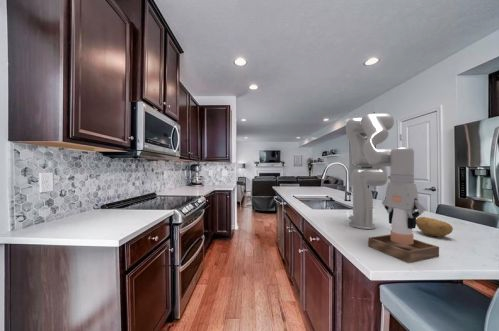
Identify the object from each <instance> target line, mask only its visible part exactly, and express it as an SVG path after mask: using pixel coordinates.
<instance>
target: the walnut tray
mask: <svg viewBox="0 0 499 331" xmlns="http://www.w3.org/2000/svg"><path fill="white" fill-rule="evenodd" d="M367 239H368V240H367V244H368V245H367V246H368V247H369V248H372V249H374V250H376V251H378V252H382V253H384V254H385V255H389V256H391V257H393V258H396V259H398V260H401V261H403V262H406V263H408V264H410V263H415V262H420V261H424V260H428V259H433V258H437V257H440V246H438V245H434V244H431V243H428V242H425V241H421V240H418V239H415V238H413V244H411V245H406V244H399V243H396V242H393V241H391V233H390V234H384V235H383V234H382V235H377V236H372V237H368V238H367Z"/></svg>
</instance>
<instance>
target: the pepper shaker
mask: <svg viewBox="0 0 499 331" xmlns="http://www.w3.org/2000/svg"><path fill="white" fill-rule="evenodd" d="M391 199H392V201H393V202H398V203H400V202H402V198H400V196H396V195H394V196H393V197H392V198H391ZM408 218H410V217H409V215H408V212H407V211H406V210H400V209H398V208H393V217H392V224H391V229H390V234H391V241H393V242H396V243H399V244H406V245H411V244H413V239H414V236H415V235H414V233H413V229H409V228H408Z"/></svg>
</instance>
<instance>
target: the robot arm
mask: <svg viewBox="0 0 499 331" xmlns="http://www.w3.org/2000/svg"><path fill="white" fill-rule="evenodd" d="M394 124H395V118H394V117H393V115H392V114H390V113H386V112H384V113H381V112H379V113H377V112H376V113H374V112H373V113H366V114H365V115H363V116H362V117H361V116H360V117H359V116H358V117H352V118H350V119H348V120H347V121H346V125H345V133H346V137H347V139H348V141H349V144H350V145H349V146H350V154H351V160H352V164H353V166H355V167H359V168H355V169H353V170H352V171H351V174H350V178H351V185H352V215H351V214H350V216H348V220H350V222H349V226H351V228H352V227H353V228H356V229H360V230H361V229H362V230H375V229H376V227H377V226H376V224H374V223H373V222H374V221H373V205H374V204H373V200H374V199H373V193H372V190H371V189H370V188H369V187H372V186H374V187H378V186H379V187H381V186H382V187H383V186H385V185H386V184H387V186H386V190H385V199H384V200H382V201H381V204H382V205H383V207H384V209H385V210H386V212H387V213H388V223H389V224H390V225H392V217H393V208H398V209H400V210H406V211H407V212H408V215H409V217H410V218H408V228H409V229H412V230H413V229H416V226H417V225H416V219H417V218H419V217H420V216H421V215H422V214H423V213H424V212H425V211H426V208H425V207H424V206H423V205H422V204H421V203H420V202H419V194H418V188H417V185H416V184H417V183H415V151H414V149H413V148H412V147H409V146H407V147H405V146H404V147H402V146H401V147H394V148H376V147H375V146H377V145H379V144H381V143H383V142H385V141H386V140H387V139H388V137H389V130H391V129H393V127H394ZM362 134H365V136H366V137H367V139H365V137H364V136H363V135H362ZM364 167H365V168H364ZM371 167H372V168H371ZM387 167H388V168H389V167H390V168H389V169H390V170H389V173H390V175H388V170H387ZM388 180H389V182H388ZM387 182H388V183H387ZM394 195H396V196H400V198H402V202H400V203H398V202H393V201H392V199H391V198H392V197H393V196H394Z"/></svg>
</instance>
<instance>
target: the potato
mask: <svg viewBox="0 0 499 331" xmlns="http://www.w3.org/2000/svg"><path fill="white" fill-rule="evenodd" d="M416 226H417V228H418V230H420V231H421V232H423V233H424V234H426V235H428V236H431V237H441V238H442V237H446V236H448V235H450V234H451V233H452V232H453V230H454V228H453V226H452V225H451V224H450V223H448V222H446V221H443V220H439V219H436V218H430V217H425V216H418V217H417V218H416Z"/></svg>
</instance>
